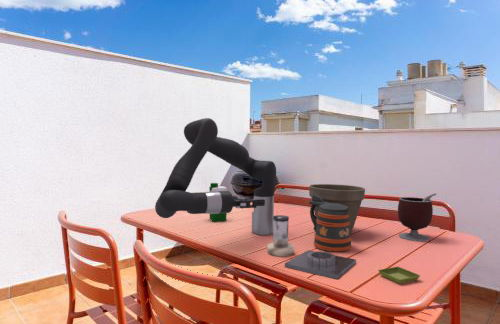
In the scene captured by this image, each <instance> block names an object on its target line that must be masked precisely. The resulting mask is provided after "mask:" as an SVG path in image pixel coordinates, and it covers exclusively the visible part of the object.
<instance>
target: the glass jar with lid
mask: <svg viewBox="0 0 500 324" xmlns="http://www.w3.org/2000/svg"><path fill="white" fill-rule="evenodd" d="M289 217H290V216H288V215H283V214H282V215H281V214H277V215H274V216H273V234H272V235H273V236H272V240H273V241H272V243H273V246H274V247H277V248H286V247H288V243H289V220H290V218H289Z"/></svg>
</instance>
